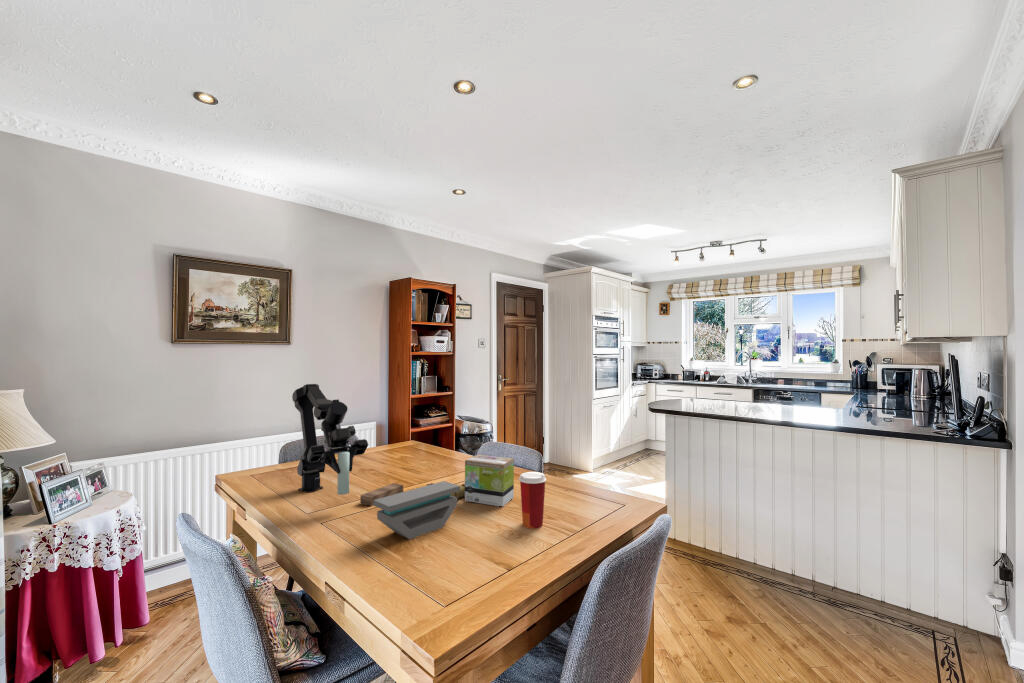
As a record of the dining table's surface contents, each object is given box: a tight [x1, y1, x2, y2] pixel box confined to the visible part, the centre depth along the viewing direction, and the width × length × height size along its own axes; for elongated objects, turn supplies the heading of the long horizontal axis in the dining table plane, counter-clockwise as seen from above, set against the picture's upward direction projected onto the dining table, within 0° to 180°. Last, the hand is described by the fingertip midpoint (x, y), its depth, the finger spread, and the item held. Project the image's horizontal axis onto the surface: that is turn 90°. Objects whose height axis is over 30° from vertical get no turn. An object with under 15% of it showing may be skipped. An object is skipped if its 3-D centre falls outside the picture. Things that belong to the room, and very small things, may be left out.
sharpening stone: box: [373, 480, 461, 540], centre depth 131 cm, size 25×8×11 cm, turn 138°
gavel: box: [425, 482, 465, 499], centre depth 165 cm, size 21×5×10 cm
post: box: [336, 452, 350, 496], centre depth 145 cm, size 4×4×13 cm
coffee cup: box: [518, 471, 547, 530], centre depth 135 cm, size 8×8×15 cm
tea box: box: [464, 454, 515, 508], centre depth 157 cm, size 15×10×15 cm
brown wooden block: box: [359, 482, 404, 507], centre depth 159 cm, size 16×5×3 cm, turn 152°
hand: (345, 471), depth 144 cm, fingers closed on post, 4 cm apart
